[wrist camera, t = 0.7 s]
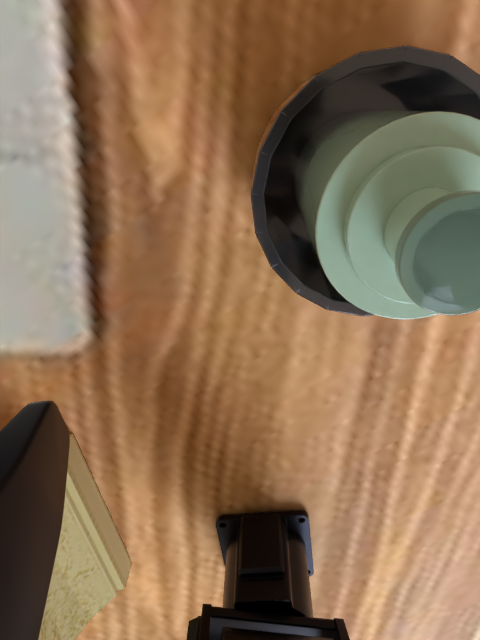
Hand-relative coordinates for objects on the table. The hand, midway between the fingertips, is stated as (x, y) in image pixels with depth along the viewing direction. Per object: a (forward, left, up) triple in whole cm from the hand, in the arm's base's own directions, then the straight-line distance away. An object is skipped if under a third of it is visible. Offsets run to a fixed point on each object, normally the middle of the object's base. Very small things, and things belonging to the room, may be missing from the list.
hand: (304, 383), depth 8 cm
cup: (+1, -4, -15) cm, 16 cm away
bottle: (+1, -4, -15) cm, 16 cm away
